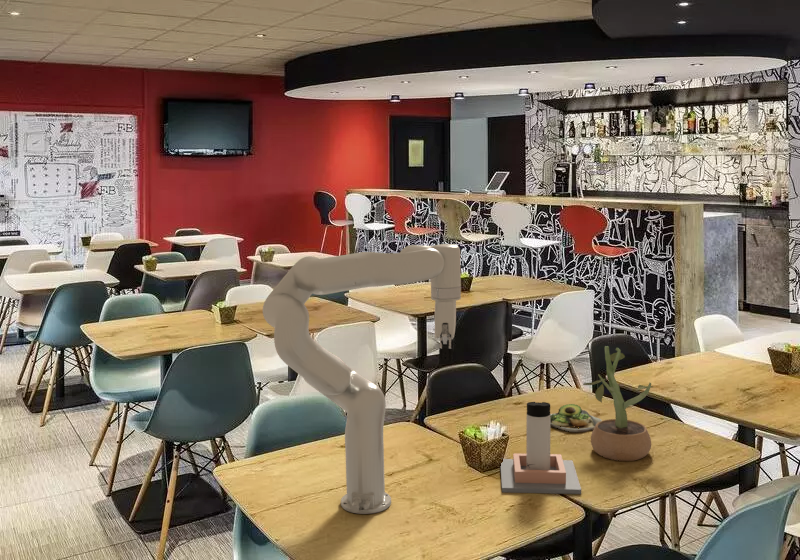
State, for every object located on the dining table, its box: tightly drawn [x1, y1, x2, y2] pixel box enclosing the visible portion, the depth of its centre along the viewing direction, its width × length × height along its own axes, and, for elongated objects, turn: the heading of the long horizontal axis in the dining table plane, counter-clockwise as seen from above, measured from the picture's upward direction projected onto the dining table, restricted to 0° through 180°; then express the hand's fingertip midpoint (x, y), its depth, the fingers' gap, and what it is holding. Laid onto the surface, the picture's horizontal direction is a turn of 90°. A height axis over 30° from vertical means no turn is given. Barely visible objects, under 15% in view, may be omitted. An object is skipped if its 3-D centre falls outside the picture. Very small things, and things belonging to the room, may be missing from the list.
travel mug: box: [525, 401, 552, 470], centre depth 208 cm, size 6×7×20 cm
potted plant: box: [582, 345, 654, 462], centre depth 228 cm, size 22×18×30 cm
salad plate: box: [550, 403, 603, 433], centre depth 252 cm, size 19×18×5 cm
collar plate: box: [500, 453, 582, 495], centre depth 210 cm, size 20×20×4 cm
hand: (446, 359), depth 201 cm, fingers open, 9 cm apart
